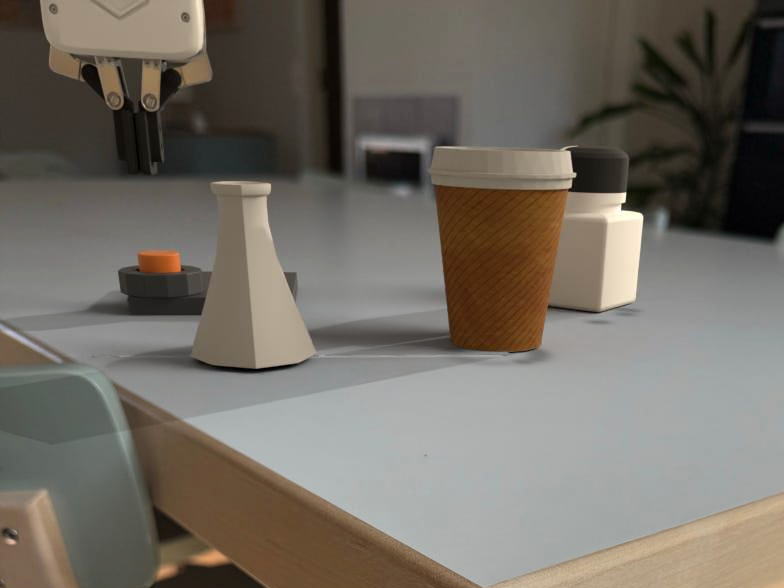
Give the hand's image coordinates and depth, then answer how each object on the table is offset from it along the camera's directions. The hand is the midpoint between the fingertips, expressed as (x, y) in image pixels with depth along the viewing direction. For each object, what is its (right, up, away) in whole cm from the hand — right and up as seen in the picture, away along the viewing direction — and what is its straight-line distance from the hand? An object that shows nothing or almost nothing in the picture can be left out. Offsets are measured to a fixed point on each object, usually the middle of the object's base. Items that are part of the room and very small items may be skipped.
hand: (143, 173), depth 71 cm
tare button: (0, -6, +3) cm, 7 cm away
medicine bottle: (+33, -5, +13) cm, 36 cm away
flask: (+10, -16, -10) cm, 22 cm away
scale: (+3, -6, +9) cm, 11 cm away
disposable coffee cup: (+25, -13, -3) cm, 29 cm away
